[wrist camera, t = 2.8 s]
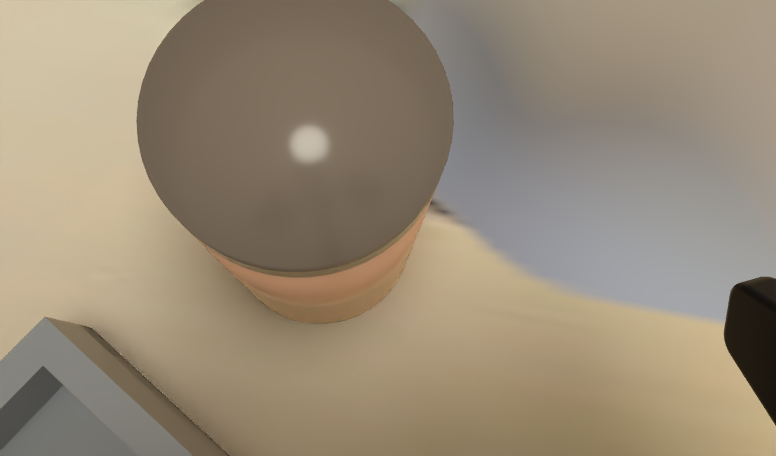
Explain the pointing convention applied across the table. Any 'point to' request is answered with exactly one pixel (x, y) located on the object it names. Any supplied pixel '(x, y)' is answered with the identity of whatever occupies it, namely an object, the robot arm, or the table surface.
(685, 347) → the table surface
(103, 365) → the tray
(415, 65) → the terracotta jar
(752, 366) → the robot arm
